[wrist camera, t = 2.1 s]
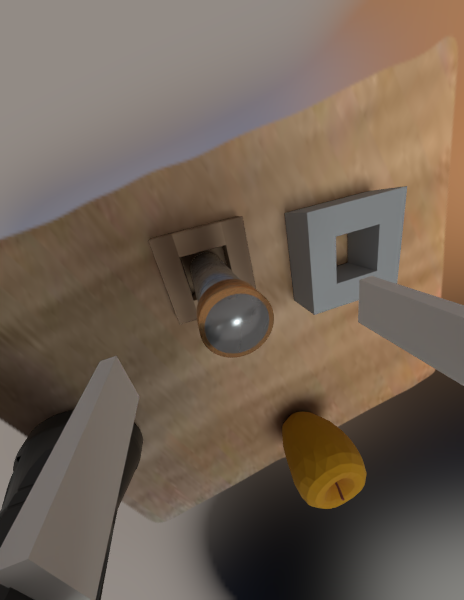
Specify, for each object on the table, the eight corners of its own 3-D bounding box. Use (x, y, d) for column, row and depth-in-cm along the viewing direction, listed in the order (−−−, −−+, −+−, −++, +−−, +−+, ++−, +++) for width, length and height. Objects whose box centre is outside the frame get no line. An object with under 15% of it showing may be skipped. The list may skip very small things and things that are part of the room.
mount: (179, 315, 28) (179, 324, 26) (150, 238, 24) (148, 240, 21) (251, 293, 29) (258, 300, 27) (236, 216, 25) (242, 216, 23)
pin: (193, 290, 27) (211, 367, 14) (182, 255, 25) (189, 302, 12) (228, 280, 28) (278, 343, 14) (219, 245, 26) (267, 278, 12)
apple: (327, 392, 40) (389, 464, 29) (318, 433, 44) (369, 511, 33) (273, 403, 38) (316, 486, 26) (268, 445, 42) (304, 534, 30)
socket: (294, 300, 31) (314, 314, 27) (284, 213, 26) (307, 212, 22) (366, 277, 33) (396, 287, 28) (369, 190, 28) (407, 186, 23)
